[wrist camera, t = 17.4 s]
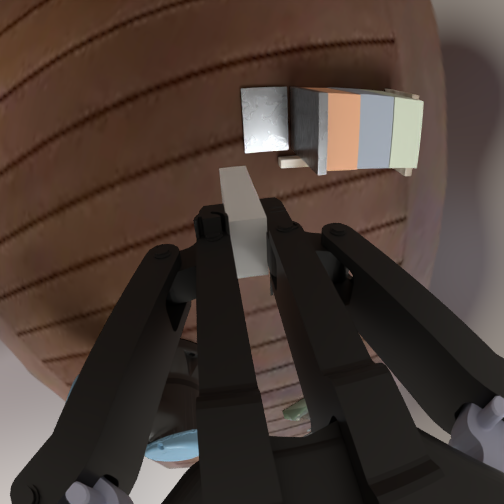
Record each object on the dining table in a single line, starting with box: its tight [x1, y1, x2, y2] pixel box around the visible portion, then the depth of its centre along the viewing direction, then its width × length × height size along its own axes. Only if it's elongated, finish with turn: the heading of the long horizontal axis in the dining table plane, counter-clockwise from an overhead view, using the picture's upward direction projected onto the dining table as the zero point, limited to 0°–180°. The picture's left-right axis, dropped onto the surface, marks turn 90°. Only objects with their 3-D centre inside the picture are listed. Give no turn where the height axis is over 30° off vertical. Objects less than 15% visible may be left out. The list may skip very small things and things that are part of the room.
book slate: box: [328, 87, 394, 169], centre depth 35 cm, size 4×9×10 cm, turn 3°
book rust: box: [302, 87, 361, 171], centre depth 35 cm, size 4×9×10 cm, turn 3°
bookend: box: [241, 87, 328, 175], centre depth 33 cm, size 8×9×11 cm
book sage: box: [360, 89, 423, 168], centre depth 35 cm, size 4×9×10 cm, turn 3°
